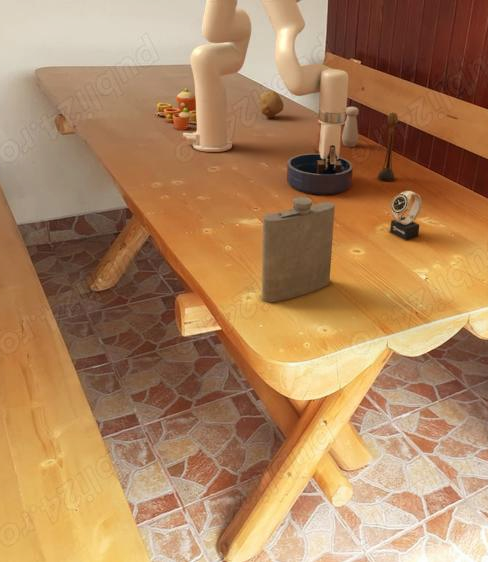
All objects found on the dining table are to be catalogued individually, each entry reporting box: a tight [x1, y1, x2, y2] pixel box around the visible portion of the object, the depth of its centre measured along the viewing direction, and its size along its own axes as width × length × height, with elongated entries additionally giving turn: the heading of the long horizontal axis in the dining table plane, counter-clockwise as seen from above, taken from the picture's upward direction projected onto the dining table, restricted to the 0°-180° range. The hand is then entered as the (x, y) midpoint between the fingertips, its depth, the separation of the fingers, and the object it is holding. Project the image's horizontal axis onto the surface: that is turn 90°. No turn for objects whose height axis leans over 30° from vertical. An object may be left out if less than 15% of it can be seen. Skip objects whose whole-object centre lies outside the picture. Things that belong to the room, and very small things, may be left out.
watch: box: [389, 190, 422, 241], centre depth 156 cm, size 6×8×11 cm
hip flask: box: [261, 196, 336, 303], centre depth 126 cm, size 16×4×20 cm, turn 128°
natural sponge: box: [259, 90, 285, 119], centre depth 242 cm, size 9×9×10 cm
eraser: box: [317, 160, 342, 174], centre depth 184 cm, size 7×4×6 cm, turn 97°
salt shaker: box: [341, 106, 360, 148], centre depth 217 cm, size 6×6×13 cm
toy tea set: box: [153, 87, 197, 131], centre depth 231 cm, size 26×16×10 cm, turn 30°
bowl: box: [286, 153, 354, 196], centre depth 184 cm, size 19×19×6 cm
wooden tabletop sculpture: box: [377, 112, 401, 183], centre depth 188 cm, size 6×5×20 cm
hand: (328, 179), depth 185 cm, fingers closed on eraser, 4 cm apart
